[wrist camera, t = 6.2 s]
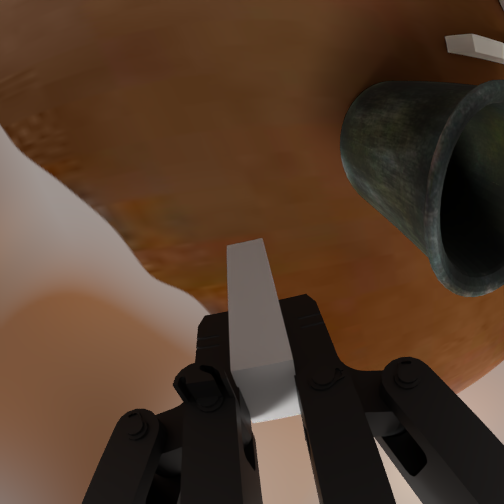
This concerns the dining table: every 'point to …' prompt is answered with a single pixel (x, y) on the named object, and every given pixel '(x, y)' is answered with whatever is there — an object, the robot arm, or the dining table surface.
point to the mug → (435, 172)
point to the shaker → (502, 3)
